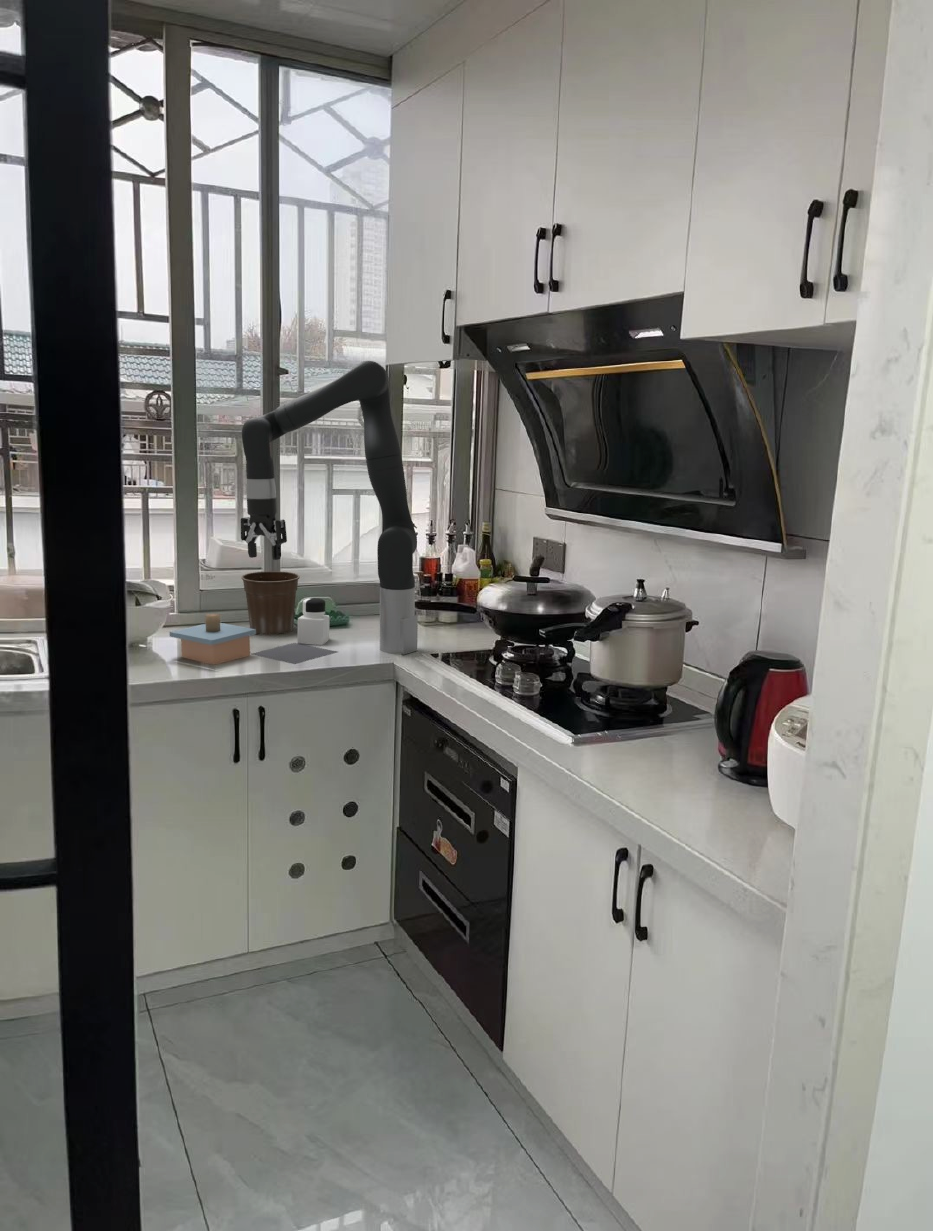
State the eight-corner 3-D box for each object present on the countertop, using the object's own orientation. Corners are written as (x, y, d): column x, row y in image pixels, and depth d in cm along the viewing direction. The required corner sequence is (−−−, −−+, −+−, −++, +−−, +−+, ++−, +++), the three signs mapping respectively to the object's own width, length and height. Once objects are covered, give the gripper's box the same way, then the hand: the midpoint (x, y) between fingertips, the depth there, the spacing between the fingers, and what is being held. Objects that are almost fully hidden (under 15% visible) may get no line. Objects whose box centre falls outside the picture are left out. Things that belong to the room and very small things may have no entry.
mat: (338, 653, 254) (338, 651, 254) (295, 665, 241) (294, 663, 241) (294, 644, 263) (294, 642, 263) (250, 655, 250) (250, 653, 250)
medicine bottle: (329, 640, 268) (330, 597, 266) (322, 645, 261) (323, 601, 259) (304, 638, 268) (304, 596, 266) (296, 643, 261) (297, 600, 259)
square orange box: (250, 656, 249) (249, 633, 248) (213, 666, 239) (212, 642, 238) (218, 649, 255) (217, 627, 254) (181, 658, 246) (180, 635, 245)
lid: (256, 633, 248) (255, 614, 247) (211, 645, 235) (211, 624, 234) (214, 626, 256) (213, 606, 254) (169, 636, 243) (168, 616, 242)
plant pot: (295, 638, 270) (294, 581, 266) (237, 637, 270) (235, 580, 266) (304, 625, 285) (303, 571, 282) (250, 624, 285) (248, 570, 282)
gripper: (291, 496, 250) (294, 558, 253) (252, 494, 257) (255, 554, 260) (271, 498, 243) (274, 562, 247) (231, 496, 251) (234, 558, 254)
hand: (264, 558), depth 254 cm, fingers open, 8 cm apart
